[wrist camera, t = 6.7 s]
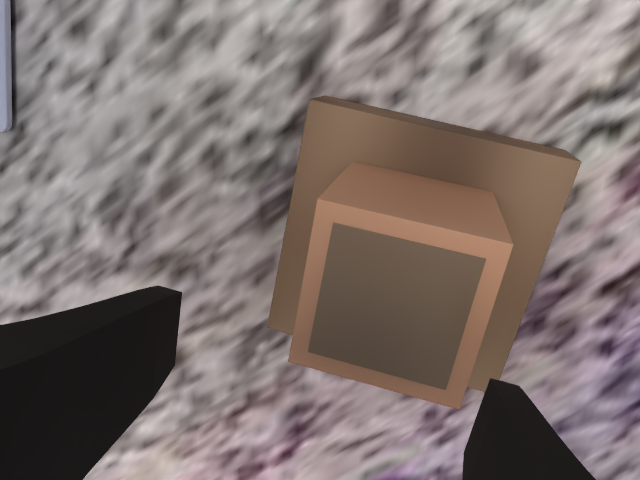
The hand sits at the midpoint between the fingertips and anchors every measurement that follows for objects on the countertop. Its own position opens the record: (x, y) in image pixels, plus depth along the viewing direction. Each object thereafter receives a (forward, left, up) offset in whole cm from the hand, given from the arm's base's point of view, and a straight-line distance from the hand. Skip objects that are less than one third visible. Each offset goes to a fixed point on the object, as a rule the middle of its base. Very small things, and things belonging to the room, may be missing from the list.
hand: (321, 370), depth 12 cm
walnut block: (+1, 0, -11) cm, 11 cm away
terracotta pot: (+1, +1, -8) cm, 8 cm away
